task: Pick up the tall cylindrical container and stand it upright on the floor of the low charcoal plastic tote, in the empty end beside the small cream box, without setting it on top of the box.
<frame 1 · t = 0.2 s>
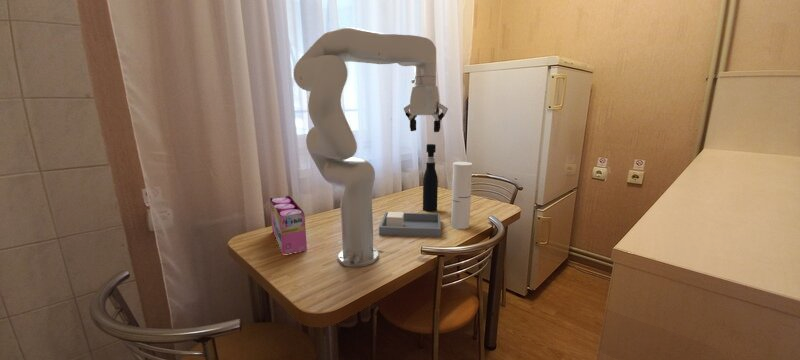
hand: (424, 131, 116), 37 cm above the table, tool pointing down, fingers open, 9 cm apart
gum box: (288, 241, 113), on the table
cream box: (395, 226, 123), point 1 cm above the table, touching tote
wine bottle: (429, 212, 143), on the table
tote: (411, 229, 122), on the table
cylindrical container: (460, 226, 126), on the table
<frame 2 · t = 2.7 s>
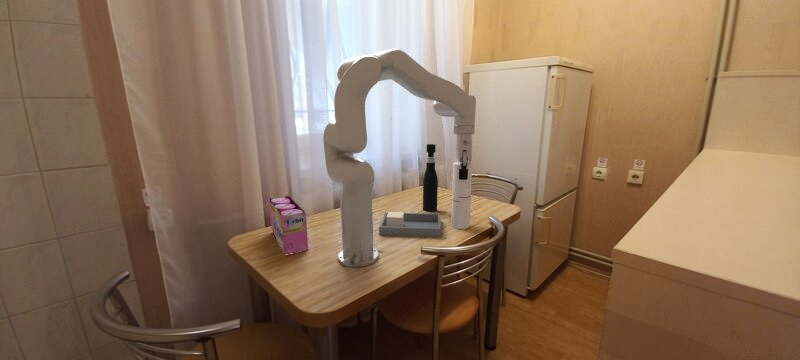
hand: (462, 176, 122), 20 cm above the table, tool pointing down, fingers closed on cylindrical container, 7 cm apart
cylindrical container: (460, 226, 126), on the table, touching gripper
everything else where it was.
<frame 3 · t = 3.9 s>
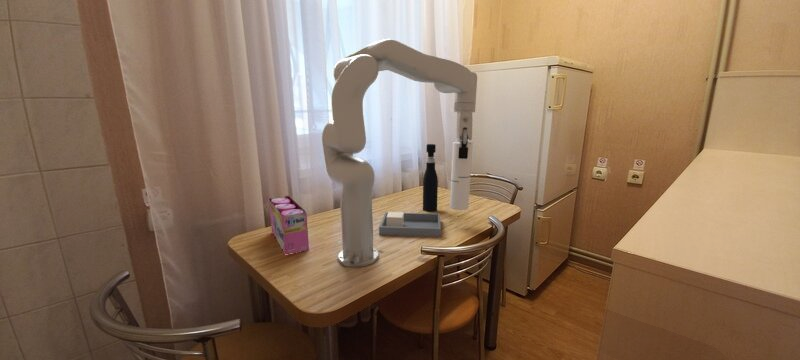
hand: (461, 156, 119), 28 cm above the table, tool pointing down, fingers closed on cylindrical container, 7 cm apart
cylindrical container: (459, 207, 124), point 8 cm above the table, touching gripper
everything else where it was.
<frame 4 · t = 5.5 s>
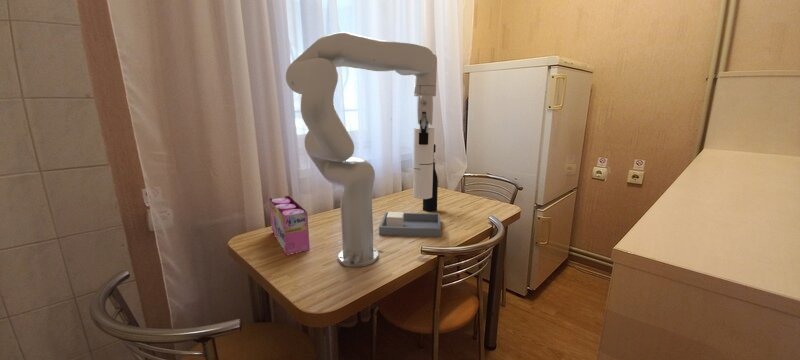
hand: (423, 143, 114), 33 cm above the table, tool pointing down, fingers closed on cylindrical container, 7 cm apart
cylindrical container: (422, 196, 119), point 13 cm above the table, touching gripper
everything else where it was.
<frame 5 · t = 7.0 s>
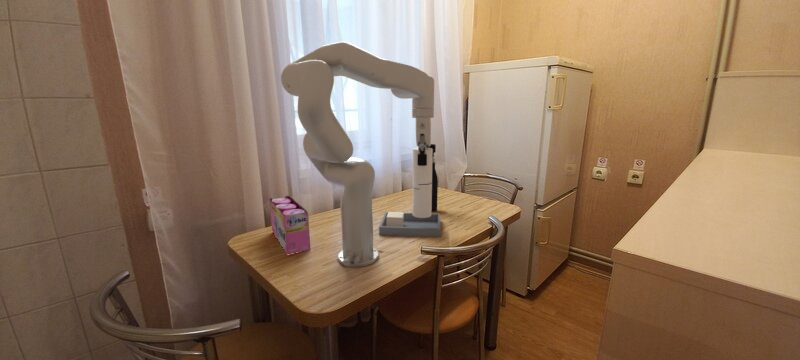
hand: (422, 163, 116), 26 cm above the table, tool pointing down, fingers closed on cylindrical container, 7 cm apart
cylindrical container: (421, 215, 121), point 6 cm above the table, touching gripper
everything else where it was.
when the fingers open (22 cm above the table, at t = 8.3 s): cylindrical container drops 1 cm, resting on tote.
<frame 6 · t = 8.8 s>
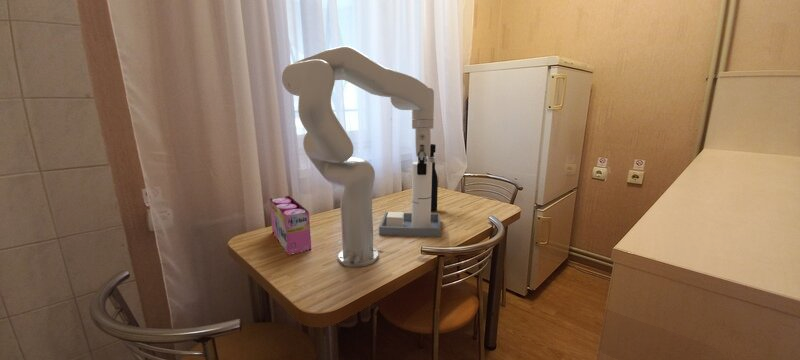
hand: (422, 171, 117), 23 cm above the table, tool pointing down, fingers open, 9 cm apart
cylindrical container: (421, 228, 122), point 1 cm above the table, touching tote
everything else where it was.
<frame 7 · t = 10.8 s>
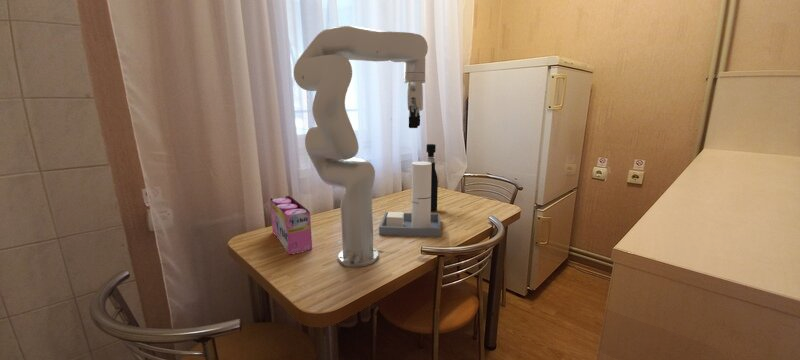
hand: (414, 126, 118), 39 cm above the table, tool pointing down, fingers open, 9 cm apart
nothing on the table moved.
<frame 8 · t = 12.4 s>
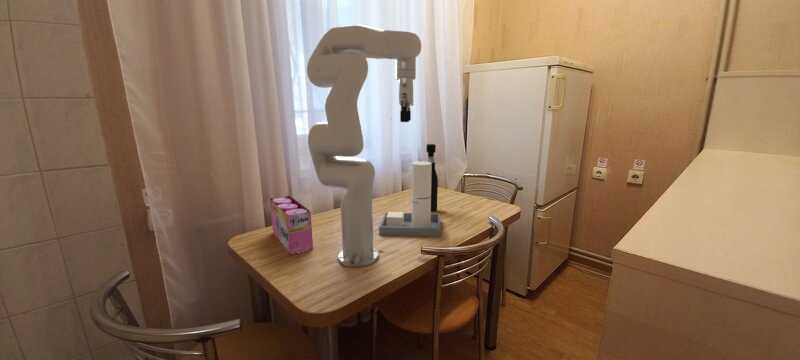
hand: (405, 121, 125), 40 cm above the table, tool pointing down, fingers open, 9 cm apart
at the end: cylindrical container inside the target area on the tote (0.7 cm from its centre), point 0.8 cm above the tote's base; cylindrical container tilted 0°; cream box moved 0.0 cm from its start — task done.
